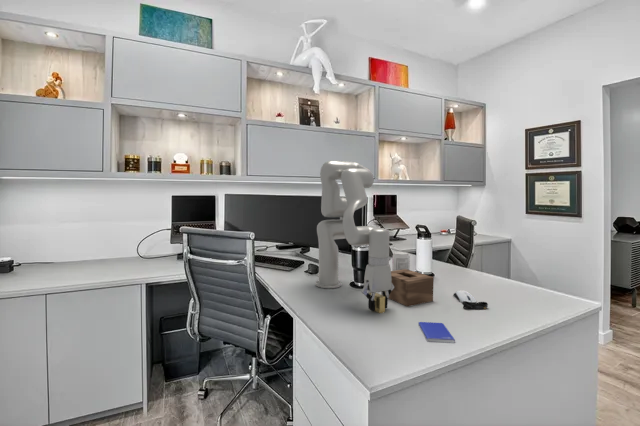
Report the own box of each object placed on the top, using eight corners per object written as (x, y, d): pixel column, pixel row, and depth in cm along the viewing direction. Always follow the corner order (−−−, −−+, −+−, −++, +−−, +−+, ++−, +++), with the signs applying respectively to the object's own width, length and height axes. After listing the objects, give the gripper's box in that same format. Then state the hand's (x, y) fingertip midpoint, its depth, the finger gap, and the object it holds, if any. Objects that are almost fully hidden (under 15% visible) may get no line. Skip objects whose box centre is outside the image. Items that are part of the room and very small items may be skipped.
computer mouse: (467, 296, 139) (468, 287, 139) (490, 311, 121) (490, 300, 121) (445, 295, 139) (445, 286, 139) (464, 311, 121) (464, 300, 121)
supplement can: (388, 282, 158) (389, 252, 157) (398, 279, 164) (398, 250, 163) (402, 286, 152) (403, 255, 151) (412, 283, 158) (412, 253, 157)
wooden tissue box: (381, 295, 138) (381, 272, 138) (405, 290, 145) (406, 269, 144) (407, 306, 124) (408, 281, 124) (433, 301, 131) (433, 277, 130)
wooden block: (371, 309, 122) (371, 293, 121) (376, 308, 123) (376, 292, 122) (379, 313, 117) (379, 297, 117) (384, 312, 118) (385, 296, 118)
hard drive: (455, 339, 94) (443, 322, 106) (427, 337, 95) (418, 321, 107) (455, 344, 94) (443, 327, 106) (427, 343, 95) (418, 326, 107)
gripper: (389, 257, 126) (389, 302, 127) (354, 261, 118) (353, 309, 119) (402, 260, 120) (402, 308, 121) (366, 265, 112) (365, 315, 113)
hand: (378, 308), depth 120 cm, fingers open, 5 cm apart
